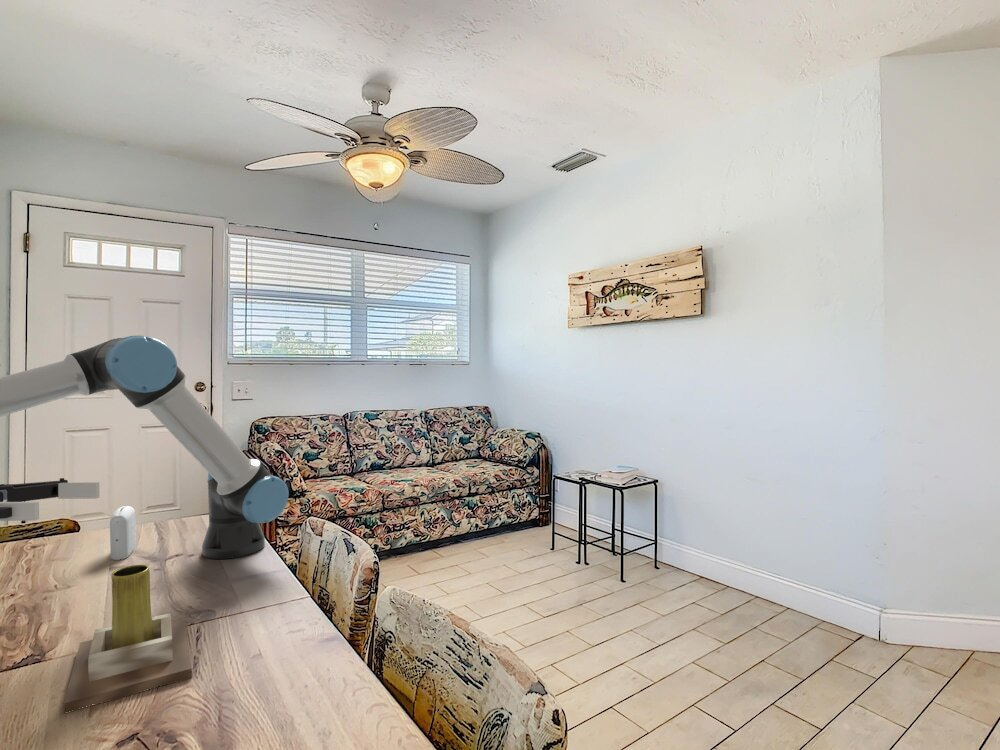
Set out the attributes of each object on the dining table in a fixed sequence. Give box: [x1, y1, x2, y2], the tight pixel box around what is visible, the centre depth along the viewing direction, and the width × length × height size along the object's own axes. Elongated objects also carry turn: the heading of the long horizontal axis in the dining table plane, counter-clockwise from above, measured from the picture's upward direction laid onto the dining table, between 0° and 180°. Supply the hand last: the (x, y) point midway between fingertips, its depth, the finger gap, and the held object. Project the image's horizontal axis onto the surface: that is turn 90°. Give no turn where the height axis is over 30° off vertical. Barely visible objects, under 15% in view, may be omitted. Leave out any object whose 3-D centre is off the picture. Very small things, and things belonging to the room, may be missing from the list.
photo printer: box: [109, 505, 137, 561], centre depth 142 cm, size 10×4×12 cm, turn 22°
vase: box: [110, 564, 154, 650], centre depth 90 cm, size 6×6×14 cm
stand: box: [63, 612, 193, 714], centre depth 90 cm, size 16×20×5 cm
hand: (70, 500), depth 89 cm, fingers open, 13 cm apart
